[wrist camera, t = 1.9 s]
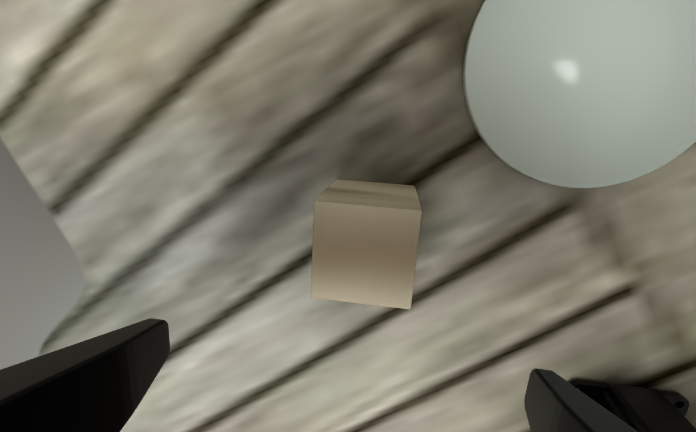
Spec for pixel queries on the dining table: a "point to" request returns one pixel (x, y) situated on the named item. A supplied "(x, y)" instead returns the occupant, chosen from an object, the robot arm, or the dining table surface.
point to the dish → (583, 86)
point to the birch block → (365, 243)
